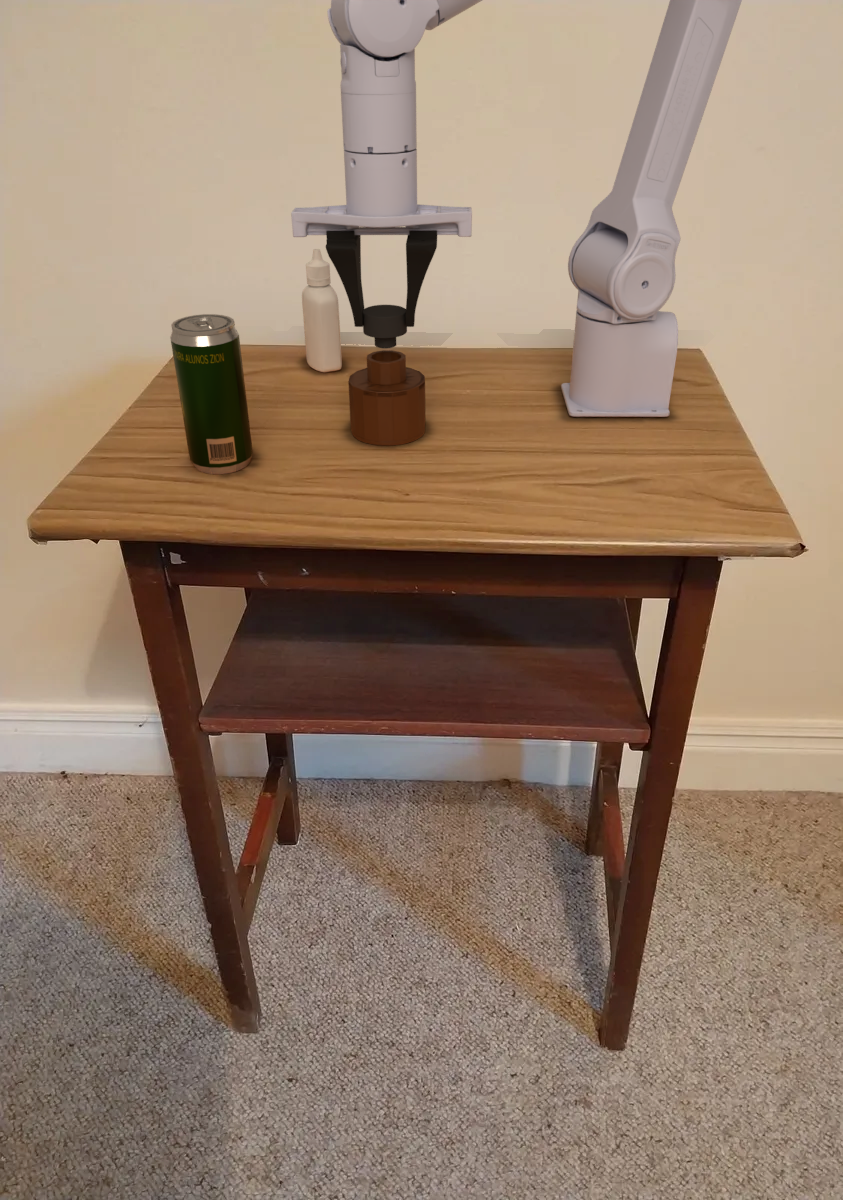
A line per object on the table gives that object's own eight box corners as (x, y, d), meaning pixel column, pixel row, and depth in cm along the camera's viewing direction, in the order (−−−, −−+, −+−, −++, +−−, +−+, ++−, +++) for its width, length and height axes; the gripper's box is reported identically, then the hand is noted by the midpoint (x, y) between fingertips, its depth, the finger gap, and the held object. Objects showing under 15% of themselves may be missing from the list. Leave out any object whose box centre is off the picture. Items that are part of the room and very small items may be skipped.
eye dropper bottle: (348, 356, 101) (342, 243, 95) (340, 374, 97) (333, 256, 90) (309, 355, 102) (300, 243, 95) (299, 373, 97) (289, 256, 90)
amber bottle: (425, 416, 87) (425, 344, 83) (424, 445, 81) (423, 369, 77) (354, 416, 87) (351, 344, 83) (348, 445, 81) (344, 369, 77)
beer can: (261, 468, 77) (245, 327, 71) (199, 480, 75) (177, 337, 69) (243, 445, 81) (226, 310, 75) (183, 456, 79) (161, 318, 73)
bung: (407, 338, 81) (407, 304, 79) (406, 352, 78) (405, 317, 76) (365, 338, 81) (364, 304, 79) (362, 352, 78) (360, 317, 76)
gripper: (472, 142, 74) (468, 310, 82) (295, 142, 74) (307, 310, 82) (474, 154, 68) (470, 334, 76) (281, 155, 68) (296, 334, 76)
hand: (385, 323), depth 78 cm, fingers closed on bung, 4 cm apart
